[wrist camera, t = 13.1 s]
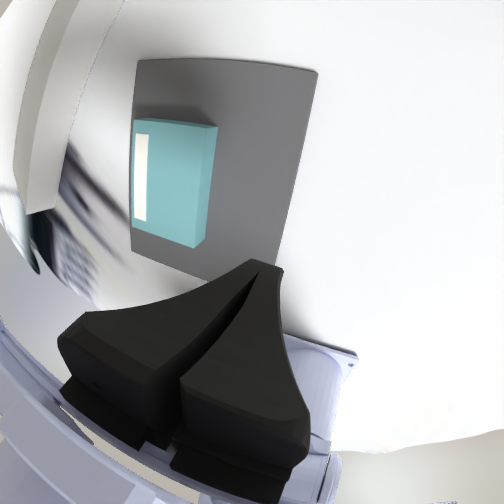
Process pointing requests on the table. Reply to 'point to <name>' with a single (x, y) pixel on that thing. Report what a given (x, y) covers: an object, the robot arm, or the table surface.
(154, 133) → the card box
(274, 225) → the mat
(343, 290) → the table surface
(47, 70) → the bevelled gray strip
